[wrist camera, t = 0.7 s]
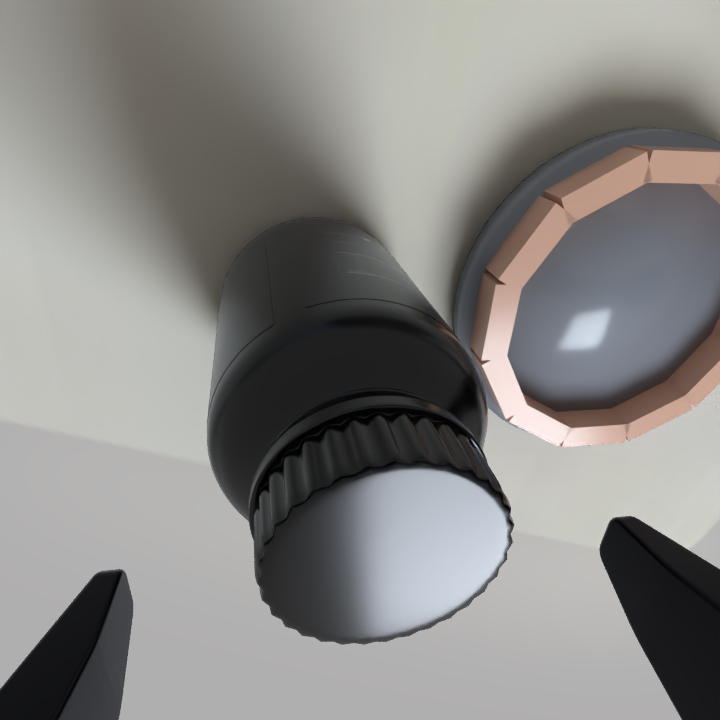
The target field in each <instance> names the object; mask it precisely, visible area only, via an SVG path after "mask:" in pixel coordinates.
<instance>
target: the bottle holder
mask: <svg viewBox="0 0 720 720" xmlns="http://www.w3.org/2000/svg"><path fill="white" fill-rule="evenodd" d="M453 328H454V334H455V335H456V336H457V338H458V339H459V340H460V342H461V343H462V344H463V346H464V347H465V348H466V350H467V352H468V353H469V354H470V356H471V358H472V359H473V361H474V363H475V365H476V366H477V368H478V370H479V373H480V375H481V378H482V380H483V384H484V388H485V392H486V397H487V405H488V407H489V409H491V410H492V411H493V412H494V413H495V414H496V415H498V416H499V417H500V418H501V419H503V420H505V421H506V422H508V423H510V424H511V425H513V426H515V427H517V428H520V429H522V430H525V431H527V432H530V433H532V434H534V435H536V436H538V437H540V438H542V439H544V440H546V441H548V442H550V443H552V444H554V445H556V446H559V445H561V447H571V446H584V445H597V444H610V443H623V442H624V441H625V438H626V439H627V440H628V441H630V440H632V439H634V438H636V437H638V436H640V435H642V434H644V433H646V432H648V431H650V430H652V429H654V428H656V427H658V426H660V425H662V424H664V423H666V422H668V421H670V420H672V419H674V418H676V417H678V416H680V415H682V414H684V413H686V412H688V411H690V410H692V409H691V404H692V405H694V406H695V407H696V406H697V405H698V404H699V403H700V402H701V401H702V400H703V399H704V398H705V397H706V396H707V395H708V394H709V393H710V392H711V391H712V390H713V389H714V388H715V387H716V386H717V385H718V384H719V383H720V143H719V142H717V141H715V140H713V139H710V138H707V137H704V136H701V135H698V134H695V133H688V132H682V131H675V130H668V129H660V128H632V129H627V130H621V131H616V132H611V133H607V134H604V135H601V136H598V137H595V138H592V139H589V140H586V141H584V142H582V143H580V144H578V145H576V146H574V147H572V148H570V149H568V150H566V151H564V152H562V153H561V154H559V155H558V156H556V157H554V158H553V159H551V160H550V161H548V162H546V163H545V164H543V165H542V166H541V167H540V168H538V169H537V170H536V171H535V172H533V173H532V174H531V175H530V176H528V177H527V178H526V179H525V180H523V181H522V182H521V183H520V184H519V185H518V186H517V187H516V189H515V190H514V191H513V192H512V193H511V194H510V195H509V196H508V197H507V198H506V199H505V200H504V201H503V202H502V204H501V205H500V206H499V207H498V209H497V210H496V211H495V212H494V214H493V215H492V216H491V217H490V219H489V220H488V222H487V223H486V225H485V226H484V228H483V230H482V231H481V233H480V234H479V236H478V237H477V239H476V241H475V243H474V245H473V247H472V249H471V251H470V254H469V256H468V258H467V260H466V263H465V265H464V268H463V271H462V274H461V277H460V280H459V284H458V288H457V293H456V297H455V304H454V316H453Z"/></svg>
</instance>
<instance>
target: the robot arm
mask: <svg viewBox="0 0 720 720" xmlns="http://www.w3.org/2000/svg"><path fill="white" fill-rule="evenodd" d="M600 556H601V559H602V562H603V564H604V566H605V569H606V571H607V573H608V575H609V578H610V580H611V582H612V584H613V587H614V589H615V591H616V593H617V596H618V598H619V600H620V603H621V605H622V607H623V609H624V612H625V614H626V616H627V618H628V621H629V623H630V625H631V627H632V629H633V631H634V633H635V635H636V637H637V639H638V641H639V643H640V645H641V647H642V648H643V650H644V652H645V654H646V656H647V657H648V659H649V661H650V663H651V665H652V667H653V668H654V670H655V672H656V674H657V676H658V677H659V679H660V681H661V683H662V685H663V686H664V688H665V690H666V692H667V694H668V695H669V697H670V699H671V701H672V702H673V704H674V706H675V708H676V710H677V712H678V713H679V715H680V717H681V719H682V720H720V569H718V568H717V567H715V566H713V565H712V564H710V563H709V562H707V561H705V560H704V559H702V558H701V557H699V556H697V555H696V554H694V553H692V552H691V551H689V550H688V549H686V548H684V547H683V546H681V545H679V544H678V543H676V542H675V541H673V540H671V539H670V538H668V537H666V536H665V535H663V534H662V533H660V532H658V531H657V530H655V529H653V528H652V527H650V526H649V525H647V524H645V523H644V522H642V521H640V520H639V519H637V518H635V517H632V516H626V517H616V518H613V519H612V520H610V522H609V524H608V527H607V529H606V532H605V534H604V537H603V539H602V542H601V544H600ZM132 618H133V600H132V595H131V591H130V588H129V583H128V579H127V576H126V573H125V572H124V571H123V570H121V569H117V570H107V571H101V572H98V573H97V574H95V575H94V576H93V578H92V579H91V580H90V581H89V582H88V584H87V585H86V586H85V587H84V588H83V590H82V591H81V592H80V593H79V594H78V596H77V597H76V598H75V599H74V600H73V602H72V603H71V604H70V605H69V606H68V608H67V609H66V610H65V611H64V613H63V614H62V615H61V616H60V617H59V619H58V620H57V621H56V622H55V623H54V625H53V626H52V627H51V628H50V629H49V631H48V632H47V633H46V634H45V636H44V637H43V638H42V639H41V640H40V642H39V643H38V644H37V645H36V646H35V648H34V649H33V650H32V651H31V652H30V654H29V655H28V656H27V657H26V658H25V660H24V661H23V662H22V664H21V665H20V666H19V667H18V668H17V670H16V671H15V672H14V673H13V674H12V675H11V677H10V678H9V679H8V680H7V682H6V683H5V684H4V685H3V686H2V688H1V689H0V720H118V719H119V715H120V709H121V702H122V696H123V687H124V680H125V672H126V664H127V656H128V649H129V640H130V633H131V625H132Z"/></svg>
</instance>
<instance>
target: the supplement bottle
mask: <svg viewBox="0 0 720 720" xmlns="http://www.w3.org/2000/svg"><path fill="white" fill-rule="evenodd" d="M487 422H488V405H487V397H486V392H485V388H484V384H483V380H482V378H481V375H480V373H479V370H478V368H477V366H476V365H475V363H474V361H473V359H472V358H471V356H470V354H469V353H468V352H467V350H466V348H465V347H464V346H463V344H462V343H461V342H460V340H459V339H458V338H457V336H456V335H455V334H454V333H453V331H452V330H451V329H450V328H449V326H448V325H447V324H446V323H445V321H444V320H443V319H442V317H441V316H440V315H439V314H438V312H437V311H436V310H435V309H434V307H433V306H432V305H431V304H430V302H429V301H428V300H427V299H426V297H425V296H424V295H423V294H422V292H421V291H420V290H419V289H418V287H417V286H416V285H415V284H414V282H413V281H412V280H411V279H410V277H409V276H408V275H407V274H406V272H405V271H404V270H403V269H402V267H401V266H400V265H399V264H398V262H397V261H396V260H395V259H394V258H393V256H392V255H391V254H390V253H389V252H388V251H387V250H386V249H385V248H384V246H383V245H382V244H381V243H379V242H378V241H377V240H376V239H375V238H374V237H372V236H371V235H369V234H368V233H367V232H365V231H363V230H361V229H360V228H358V227H356V226H353V225H351V224H349V223H345V222H342V221H339V220H334V219H327V218H304V219H298V220H292V221H289V222H286V223H282V224H280V225H277V226H275V227H273V228H271V229H269V230H267V231H265V232H264V233H262V234H261V235H259V236H258V237H256V238H255V239H254V240H253V241H251V242H250V243H249V244H248V245H247V246H246V247H245V248H244V249H243V250H242V251H241V253H240V254H239V255H238V256H237V258H236V259H235V261H234V262H233V264H232V266H231V268H230V270H229V272H228V274H227V276H226V279H225V282H224V285H223V289H222V292H221V299H220V305H219V312H218V322H217V331H216V341H215V351H214V360H213V370H212V379H211V389H210V399H209V408H208V419H207V446H208V455H209V459H210V463H211V467H212V470H213V473H214V475H215V478H216V480H217V482H218V484H219V486H220V488H221V490H222V491H223V493H224V494H225V496H226V497H227V499H228V500H229V502H230V503H231V504H232V505H233V506H234V507H235V509H236V510H237V511H238V512H239V513H240V514H241V515H242V516H243V517H245V518H246V519H247V520H248V521H249V524H250V530H251V534H252V537H253V540H254V560H255V561H254V563H255V578H256V581H257V584H258V585H259V587H260V594H261V598H262V600H263V601H264V602H265V603H266V604H268V605H269V606H270V610H271V614H272V615H273V616H275V617H277V618H279V619H281V620H282V621H283V624H284V625H285V626H286V627H288V628H292V629H295V630H297V631H298V632H299V633H300V634H301V635H302V636H309V637H315V638H316V639H318V640H319V641H321V642H323V641H324V642H328V641H329V642H330V641H331V642H336V643H339V644H350V643H358V644H368V643H372V642H377V641H378V642H387V641H389V640H392V639H395V638H397V637H405V636H410V635H412V634H414V633H416V632H418V631H420V630H425V629H429V628H431V627H432V626H434V625H435V624H437V623H438V622H441V621H443V620H446V619H449V618H451V617H452V616H453V615H454V614H455V613H456V612H457V611H459V610H461V609H463V608H465V607H467V606H469V604H470V603H471V602H472V600H473V599H474V598H475V597H477V596H478V595H480V594H481V593H483V592H484V591H485V589H486V587H487V585H488V583H489V582H491V581H492V580H493V579H494V578H495V577H497V575H498V570H499V568H500V567H501V566H502V564H503V563H504V562H505V561H506V560H507V550H508V549H509V548H510V546H511V544H512V537H511V535H510V534H511V532H512V530H513V527H514V522H513V520H512V517H511V515H510V513H511V506H510V503H509V501H508V499H507V497H506V496H505V494H504V492H503V491H502V489H501V486H500V484H499V482H498V480H497V479H496V477H495V475H494V474H493V472H492V471H491V469H490V467H489V466H488V463H487V460H486V457H485V455H484V453H483V451H482V449H483V446H484V441H485V437H486V432H487Z"/></svg>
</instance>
